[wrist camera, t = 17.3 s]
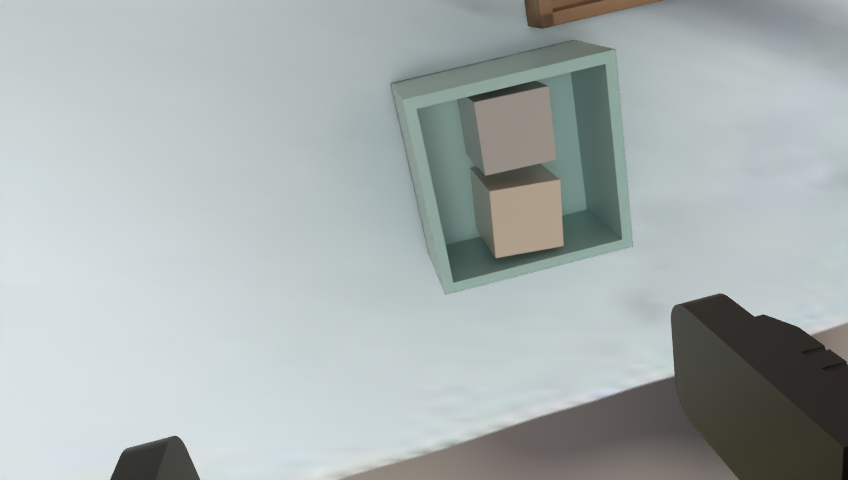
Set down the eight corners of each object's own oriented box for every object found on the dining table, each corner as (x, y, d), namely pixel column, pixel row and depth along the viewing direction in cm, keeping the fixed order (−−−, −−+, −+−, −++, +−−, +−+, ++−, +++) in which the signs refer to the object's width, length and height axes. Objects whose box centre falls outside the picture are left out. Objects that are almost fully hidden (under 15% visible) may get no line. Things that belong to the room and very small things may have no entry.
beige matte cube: (470, 167, 40) (489, 191, 35) (532, 157, 40) (560, 179, 36) (476, 227, 42) (495, 258, 37) (536, 217, 42) (563, 246, 37)
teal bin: (390, 83, 38) (402, 100, 33) (573, 40, 39) (615, 49, 33) (428, 254, 42) (445, 294, 37) (592, 213, 43) (633, 246, 38)
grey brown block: (455, 88, 38) (473, 102, 34) (521, 74, 38) (548, 86, 34) (466, 153, 40) (485, 175, 35) (529, 139, 40) (556, 159, 35)
